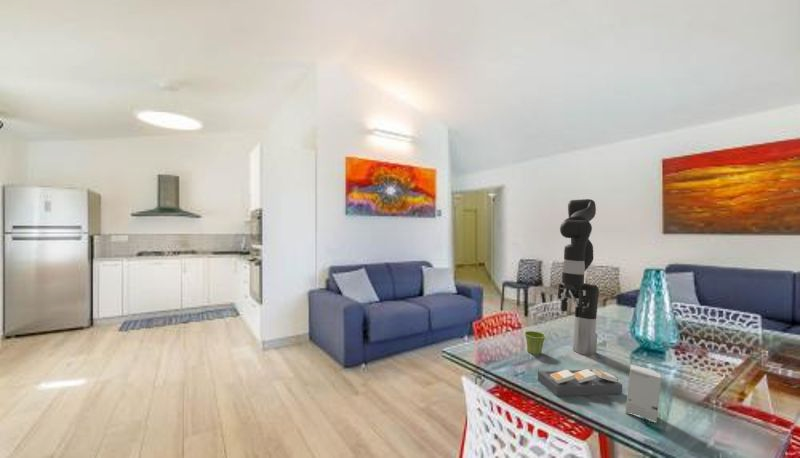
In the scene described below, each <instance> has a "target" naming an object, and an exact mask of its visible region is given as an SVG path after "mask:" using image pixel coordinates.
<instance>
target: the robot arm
mask: <svg viewBox="0 0 800 458" xmlns="http://www.w3.org/2000/svg"><path fill="white" fill-rule="evenodd" d="M596 212H597V206H596V201H594V200H593V199H590V198H589V199H588V198H587V199H586V198H585V199H584V198H583V199H571V200H569V202H568V204H567V214H568V218H565V219H564V220H563V221H562V222H561V224H560V227H559V231H560V234H561V236H562V237H563V238H565V239H570V244H566V245H565V246H564V250H563V263H562V272H561V275H562V276H561V283H558V290H557V291H558V292H557V298H558V300H559V301H561V304H560V310H561V311H562V312H568V304H569V303H568V302H569V299H571V300H572V302H573V303H574V304H575V310H574V322H573V323H574V324H573V338H572V339H573V343H572V350H573V351H574V353H575V352H576V353H578V354H581V355H586V356H592V355H593V356H594V355H595V354H596V355H597V351H598V350H597V348H598V347H597V346H598V334H597V333H596V330H597V317H598V316H597V315H598V314H597V313H598V304H599V296H600V294H599V293H600V291H599V290H600V289H599V287H598V285H596V284H591V283H585V272H586V271H587V270H588V269H589V267H590V266H591V264H592V263H593V262H594V245H593V243H592V242H591V240H590V236H591V233H592V230H593V227H592V226H593V225H592V224H591V222H590V221H592V220H593V219H594V218H595V216H596V214H597V213H596Z"/></svg>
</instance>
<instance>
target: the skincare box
mask: <svg viewBox="0 0 800 458" xmlns="http://www.w3.org/2000/svg"><path fill="white" fill-rule="evenodd" d="M661 385H662V372H659V371H656V370H652V369H650V368H646V367H642V366H638V365H635V364H630V368H629V376H628V386H627V395H626V406H625V407H626V408H625V413H632V414H636V415H640V416H643V417H645V418H648V419H651V420H654V421H656V423H657V422H658V421H657V420H658V413H659V403H660V396H661V394H660V393H661Z"/></svg>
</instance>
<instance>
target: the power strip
mask: <svg viewBox="0 0 800 458" xmlns="http://www.w3.org/2000/svg"><path fill="white" fill-rule="evenodd" d="M567 370H568V369H567ZM582 370H583V369H574V370H568V371H570V372H571V373H576V372H579V371H582ZM589 370H590V371H591V372H592V370H593V369H589ZM560 371H561V370H538V371H537V381H538V382H539V383H540V384H542V385H543V386H544V387H545V388H546V389H548V390H549V391H550V392H551V393H552V394H553V393H554V394H553V395H555V396H556V397H572V396H577V397H578V396H598V395H599V396H600V395H601V396H602V395H605V396H606V395H619V394H618V393H622V394H623V384H622V383H621V382H619V381H617V382H614V381H610V380H606V379H603V378H600V377H598V376H597V375H596V378H595V379H592V380H589V381H585V382H582V383H578V382H577V381H575V380H574V379H572V380H569V381H566V382H562V383H559V384H557V383H556V382H555V381H553V380H552V379H551V378H550V374H553V373H556V372H560ZM615 377H616V378H618V377H617V376H615ZM618 379H619V378H618ZM616 393H617V394H616Z"/></svg>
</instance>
